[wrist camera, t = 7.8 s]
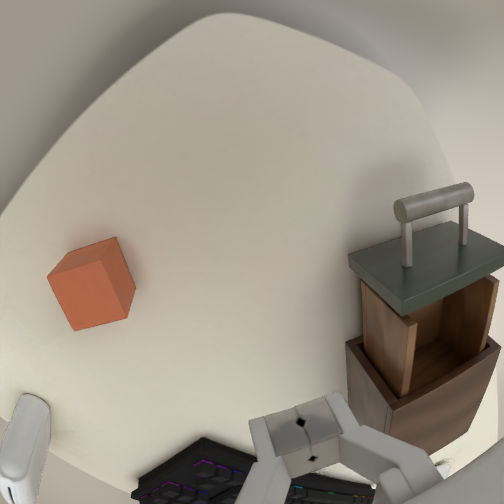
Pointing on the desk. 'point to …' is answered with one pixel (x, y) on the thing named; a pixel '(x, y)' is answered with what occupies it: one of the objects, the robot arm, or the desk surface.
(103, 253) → the block
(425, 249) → the drawer
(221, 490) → the keyboard
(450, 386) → the cabinet
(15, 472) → the photo printer
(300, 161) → the desk surface
